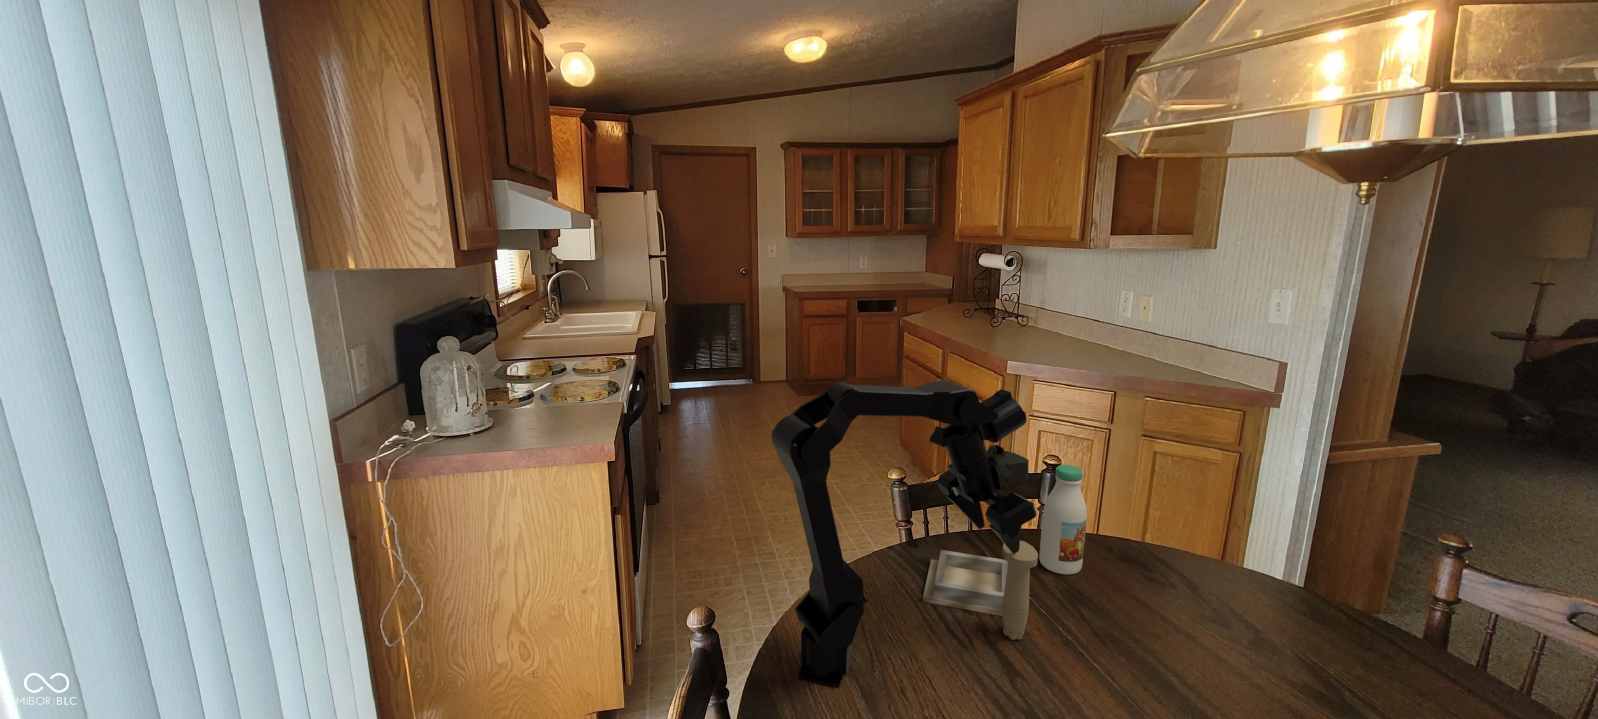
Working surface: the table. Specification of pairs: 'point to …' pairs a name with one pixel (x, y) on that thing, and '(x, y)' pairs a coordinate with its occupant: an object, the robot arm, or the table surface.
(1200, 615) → the table surface
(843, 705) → the table surface
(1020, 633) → the handle
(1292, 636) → the table surface
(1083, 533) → the milk bottle
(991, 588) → the board
